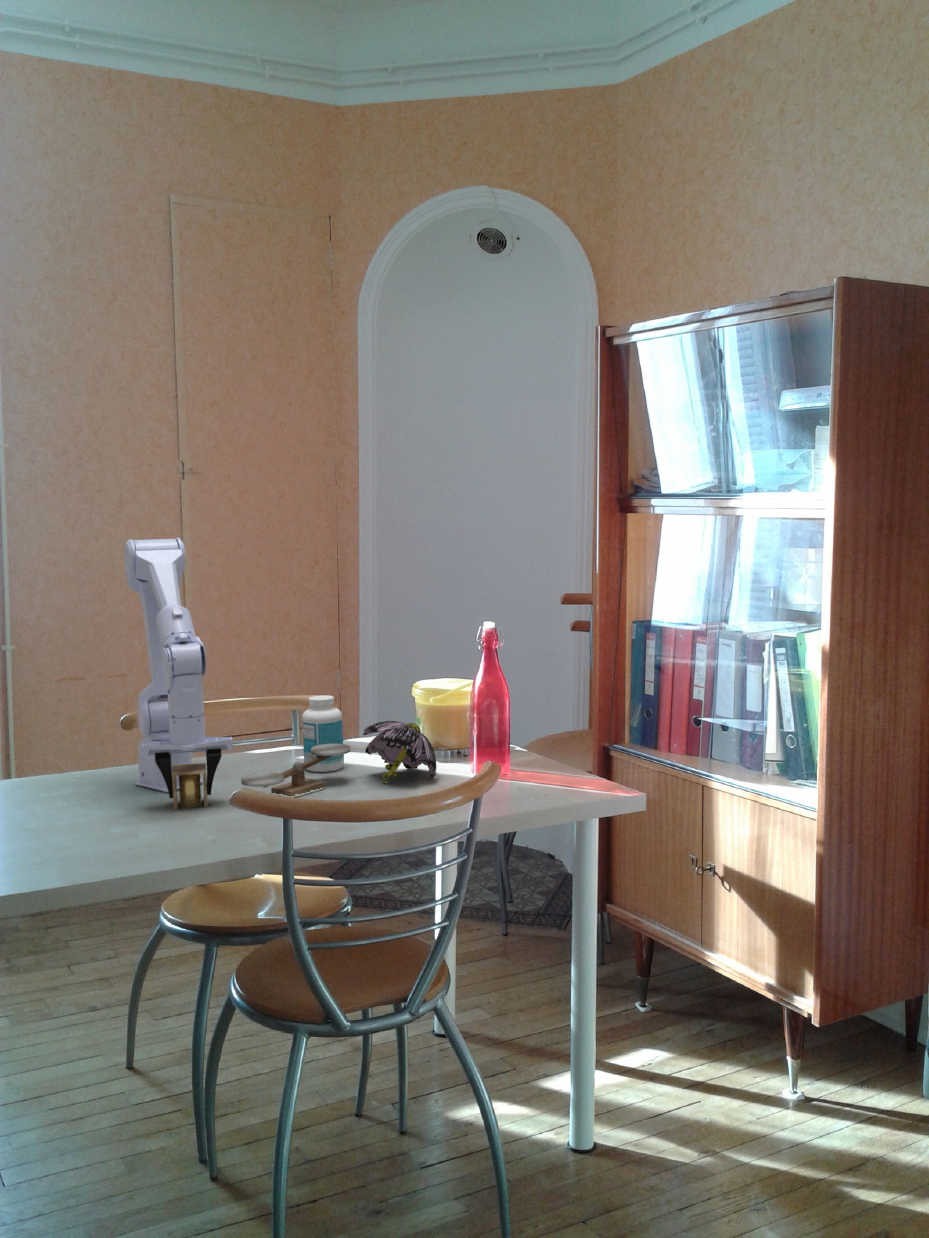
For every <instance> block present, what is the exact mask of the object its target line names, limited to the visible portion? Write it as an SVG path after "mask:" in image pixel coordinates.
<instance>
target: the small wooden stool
mask: <svg viewBox="0 0 929 1238" xmlns="http://www.w3.org/2000/svg"><path fill="white" fill-rule="evenodd" d="M191 774H200V775H202V777H203V778H202V780H203V783H202V784H203V803H204V805H203V806H204V807H203V808H204V809H205V808H206V809H207V808H208V795H207V762H200V763H199V762H197V763H192V764H182V765H173V766H172V783H173V798H172V799H173V811H177V810H178V790H177V782H176V776H177V775H191Z"/></svg>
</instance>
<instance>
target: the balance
mask: <svg viewBox="0 0 929 1238" xmlns="http://www.w3.org/2000/svg"><path fill="white" fill-rule="evenodd" d="M350 752H351V746H350V745H348V744H345V743H343V744H322V745H317V746H314V747H312V748H311V753H312V754H314V755H318V756H317V757H314V758H312V759H310V760H308V761H306V762H304V761H303V762H300V761H296V762H294V763H293V764H292V767H291V768H289V769H287V770H285V771H282V772H280V773H279V772H273V771H271V772H270V771H269V772H265V771H264V772H255V773H254V772H253V773H250V774H246V775H244V776H242V777H241V779H240V780H241V785H244V786H247V787H256V788H257V787H258V788H259V787H260V788H269V787H270V789H271V790H270V792H271V793H276V794H283V795H287V796H295V794H302V793H306V792H310V791H311V790H316V789H320V788H324V787H325V788H326V781H323V780H318V779H313V778H309V777H306V773H305V770H307V769H306V768H309V767H311V766H313V765H315V764H317V763H319V762H321V761H323V760H325V759H328V758H330V757H332V756H336V755H343V754H344V755H346V754H348V753H350ZM289 777H291V781H289V782H286V783H283V782H284V780H286V779H287V778H289ZM281 783H282V784H281ZM278 784H279V785H278ZM271 786H272V787H271Z"/></svg>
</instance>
